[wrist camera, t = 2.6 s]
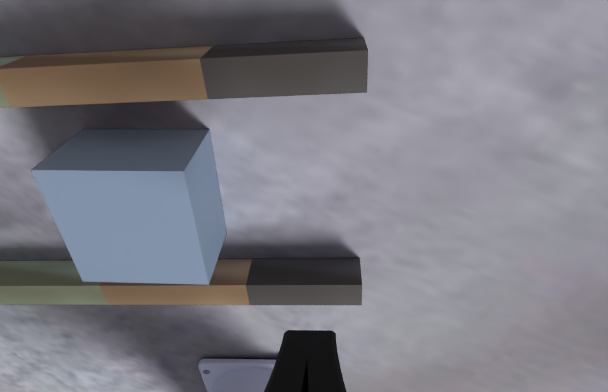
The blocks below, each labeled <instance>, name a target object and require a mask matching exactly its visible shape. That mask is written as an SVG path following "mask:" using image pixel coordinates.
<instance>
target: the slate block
mask: <svg viewBox="0 0 608 392" xmlns="http://www.w3.org/2000/svg"><path fill="white" fill-rule="evenodd" d="M31 172H32V174H33V176H34V178H35V180H36V183H37V185H38V187H39V189H40V191H41V193H42V195H43V198H44V200H45V202H46V204H47V206H48V208H49V210H50V212H51V215H52V217H53V219H54V221H55V223H56V225H57V227H58V230H59V232H60V234H61V236H62V238H63V240H64V242H65V245H66V247H67V249H68V251H69V253H70V255H71V257H72V260H73V262H74V264H75V266H76V268H77V270H78V272H79V274H80V277H81V279H82V281H83V282H121V283H160V284H199V285H209V283H210V280H211V277H212V274H213V271H214V268H215V266H216V263H217V260H218V257H219V254H220V251H221V248H222V245H223V243H224V240H225V237H226V234H227V230H226V224H225V218H224V212H223V206H222V200H221V194H220V188H219V182H218V176H217V170H216V164H215V158H214V152H213V146H212V140H211V134H210V129H82V130H81V131H80V132H79V133H77V134H76V135H75V136H73V137H72V138H71V139H70V140H68V141H67V142H66V143H65V144H63V145H62V146H61V147H59V148H58V149H57V150H56V151H54V152H53V153H52V154H51V155H49V156H48V157H47V158H45V159H44V160H43V161H42V162H40V163H39V164H38V165H37V166H35V167H34V168H33V169H31Z"/></svg>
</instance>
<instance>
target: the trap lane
mask: <svg viewBox="0 0 608 392" xmlns="http://www.w3.org/2000/svg"><path fill="white" fill-rule="evenodd" d="M367 67H368V49H367V46H366V43H365V40H364V38H349V39H330V40H311V41H293V42H274V43H256V44H237V45H218V46H200V47H181V48H163V49H144V50H126V51H107V52H88V53H70V54H51V55H33V56H14V57H0V108H12V107H35V106H59V105H82V104H106V103H129V102H153V101H176V100H200V99H223V98H247V97H270V96H294V95H318V94H341V93H365V92H367ZM361 303H362V280H361V269H360V258H311V259H218V260H217V263H216V266H215V268H214V271H213V274H212V277H211V280H210V283H209V285H199V284H160V283H121V282H83V281H82V279H81V277H80V274H79V272H78V270H77V268H76V266H75V264H74V262H73V260H69V261H0V305H361Z"/></svg>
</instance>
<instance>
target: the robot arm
mask: <svg viewBox="0 0 608 392" xmlns="http://www.w3.org/2000/svg"><path fill="white" fill-rule="evenodd" d="M198 368H199V370H200V373H201V376H202V379H203V382H204V385H205V387H206V390H207V392H346V389H345V385H344V381H343V377H342V373H341V369H340V364H339V359H338V353H337V346H336V333H334V332H333V331H308V330H288V331H287V332H285V333H284V337H283V341H282V344H281V347H280V351H279V354H278V357H277V360H268V359H202V360H200V361H199V365H198Z"/></svg>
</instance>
